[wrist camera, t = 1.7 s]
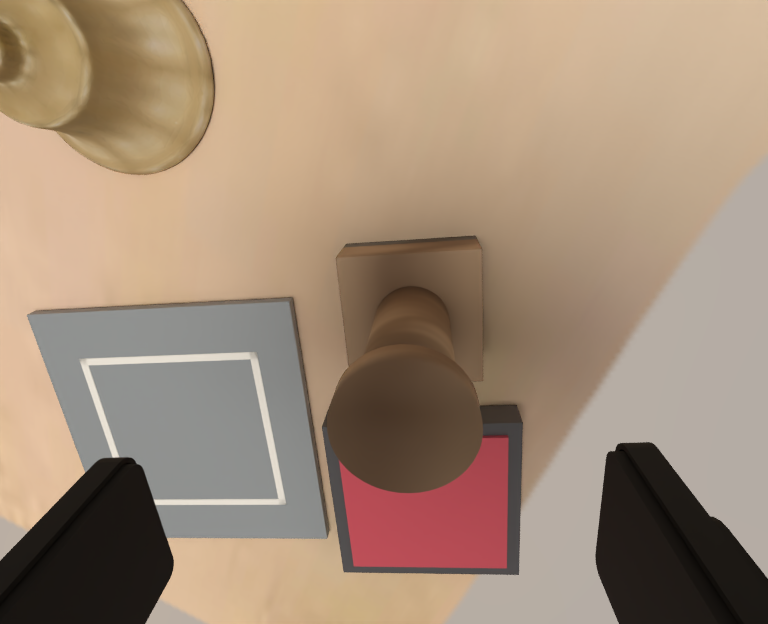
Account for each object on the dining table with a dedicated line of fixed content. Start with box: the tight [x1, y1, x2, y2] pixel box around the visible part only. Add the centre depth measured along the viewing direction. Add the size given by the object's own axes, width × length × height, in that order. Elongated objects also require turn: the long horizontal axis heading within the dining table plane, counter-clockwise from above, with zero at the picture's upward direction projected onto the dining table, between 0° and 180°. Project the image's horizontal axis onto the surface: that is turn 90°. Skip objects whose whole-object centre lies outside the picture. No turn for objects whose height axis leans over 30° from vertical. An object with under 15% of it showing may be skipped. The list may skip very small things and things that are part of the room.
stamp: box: [327, 236, 483, 493], centre depth 17 cm, size 6×6×11 cm
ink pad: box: [322, 405, 523, 575], centre depth 25 cm, size 10×10×2 cm
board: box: [27, 298, 329, 539], centre depth 26 cm, size 14×15×1 cm
